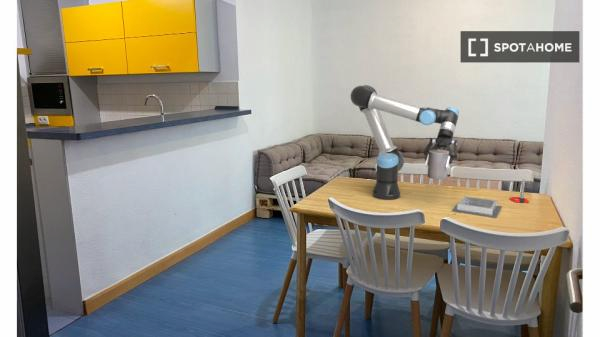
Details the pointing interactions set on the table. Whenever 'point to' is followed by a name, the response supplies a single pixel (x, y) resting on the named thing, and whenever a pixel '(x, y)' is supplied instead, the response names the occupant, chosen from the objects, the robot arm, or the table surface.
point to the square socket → (478, 207)
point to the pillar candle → (437, 164)
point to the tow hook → (521, 198)
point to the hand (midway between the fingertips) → (436, 167)
